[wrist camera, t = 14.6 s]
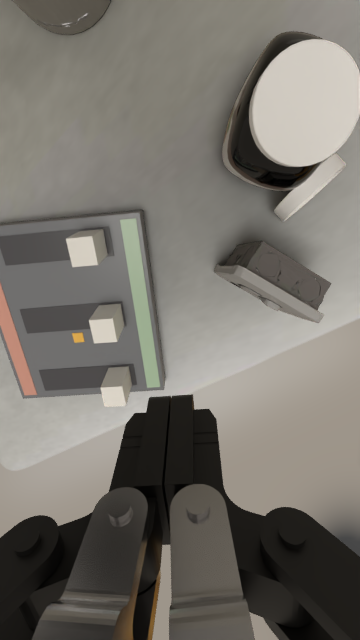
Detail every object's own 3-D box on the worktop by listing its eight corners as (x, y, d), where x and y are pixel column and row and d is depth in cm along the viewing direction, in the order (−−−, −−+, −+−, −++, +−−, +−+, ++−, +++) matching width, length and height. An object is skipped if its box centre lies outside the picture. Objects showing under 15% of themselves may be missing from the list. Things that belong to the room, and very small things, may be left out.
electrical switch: (211, 270, 37) (223, 291, 28) (236, 229, 36) (257, 237, 27) (279, 309, 39) (310, 340, 30) (305, 271, 37) (347, 292, 29)
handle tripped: (98, 305, 36) (88, 320, 33) (120, 303, 36) (112, 318, 32) (103, 326, 37) (94, 343, 34) (124, 325, 37) (117, 341, 34)
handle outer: (108, 367, 40) (100, 387, 36) (128, 366, 39) (122, 386, 36) (112, 385, 41) (104, 406, 37) (131, 384, 40) (126, 405, 37)
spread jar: (253, 48, 29) (290, -23, 18) (366, 102, 30) (461, 64, 20) (201, 187, 34) (207, 194, 23) (301, 227, 35) (349, 252, 24)
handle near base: (79, 231, 33) (65, 238, 29) (103, 228, 33) (92, 236, 29) (84, 256, 34) (72, 267, 30) (107, 254, 34) (98, 265, 30)
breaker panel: (-23, 225, 36) (-38, 229, 33) (142, 209, 35) (139, 212, 32) (31, 386, 44) (22, 398, 42) (165, 378, 43) (163, 390, 41)
